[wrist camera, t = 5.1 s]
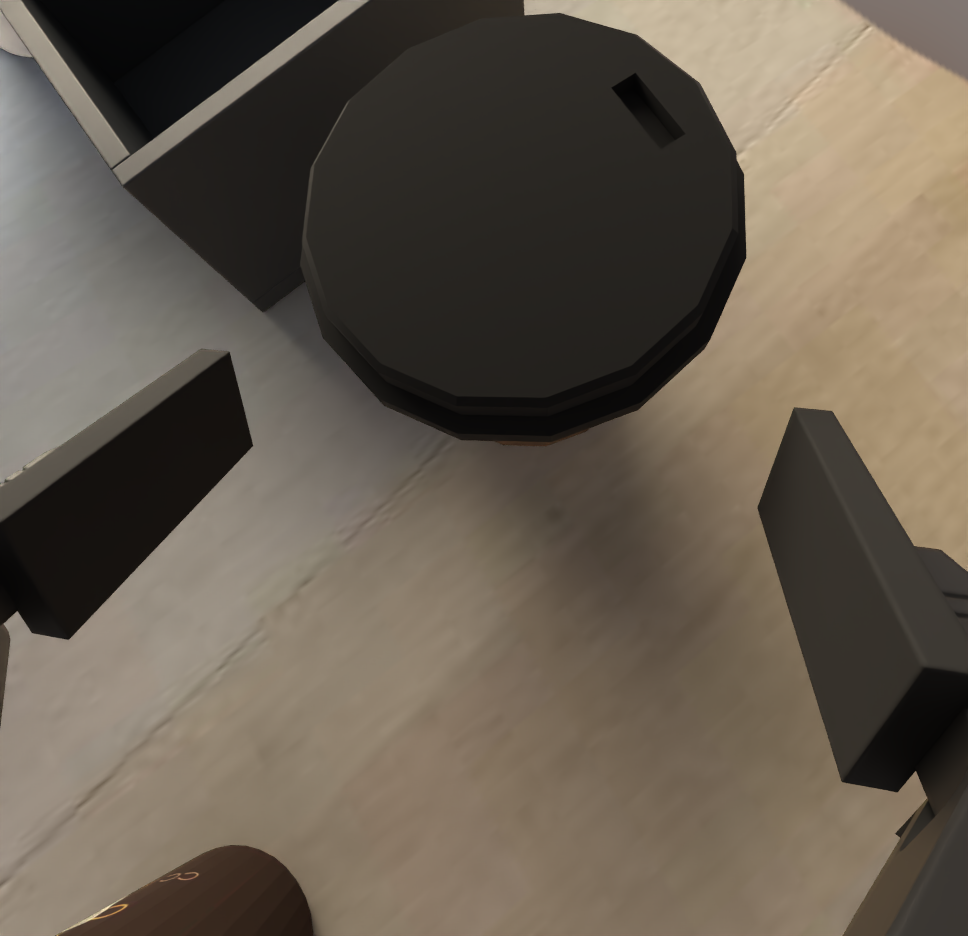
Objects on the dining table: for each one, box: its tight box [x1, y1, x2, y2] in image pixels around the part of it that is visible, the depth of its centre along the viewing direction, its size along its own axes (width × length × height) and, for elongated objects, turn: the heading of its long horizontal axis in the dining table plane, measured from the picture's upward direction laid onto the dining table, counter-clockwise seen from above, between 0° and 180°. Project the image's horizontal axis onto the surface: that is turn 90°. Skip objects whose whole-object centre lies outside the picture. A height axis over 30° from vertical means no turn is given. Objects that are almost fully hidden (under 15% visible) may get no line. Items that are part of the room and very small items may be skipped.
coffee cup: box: [300, 13, 746, 446], centre depth 19 cm, size 11×11×12 cm
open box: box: [0, 0, 524, 312], centre depth 24 cm, size 16×16×9 cm
